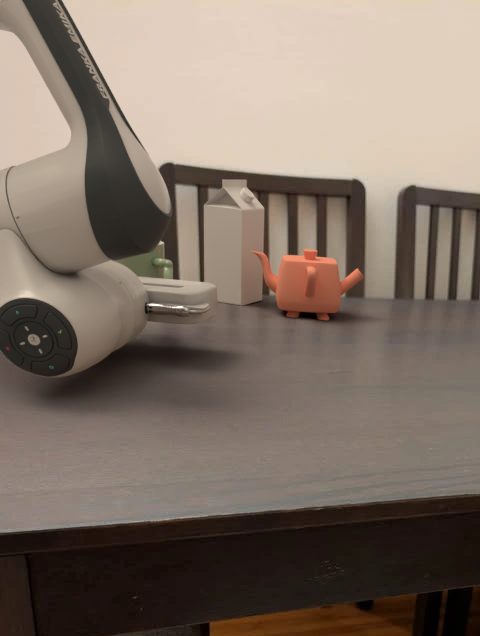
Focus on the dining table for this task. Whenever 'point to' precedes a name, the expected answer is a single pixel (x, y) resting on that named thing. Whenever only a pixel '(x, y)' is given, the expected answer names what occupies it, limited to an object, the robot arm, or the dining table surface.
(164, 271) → the mug
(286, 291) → the teapot
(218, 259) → the milk carton
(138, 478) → the dining table surface
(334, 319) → the dining table surface
